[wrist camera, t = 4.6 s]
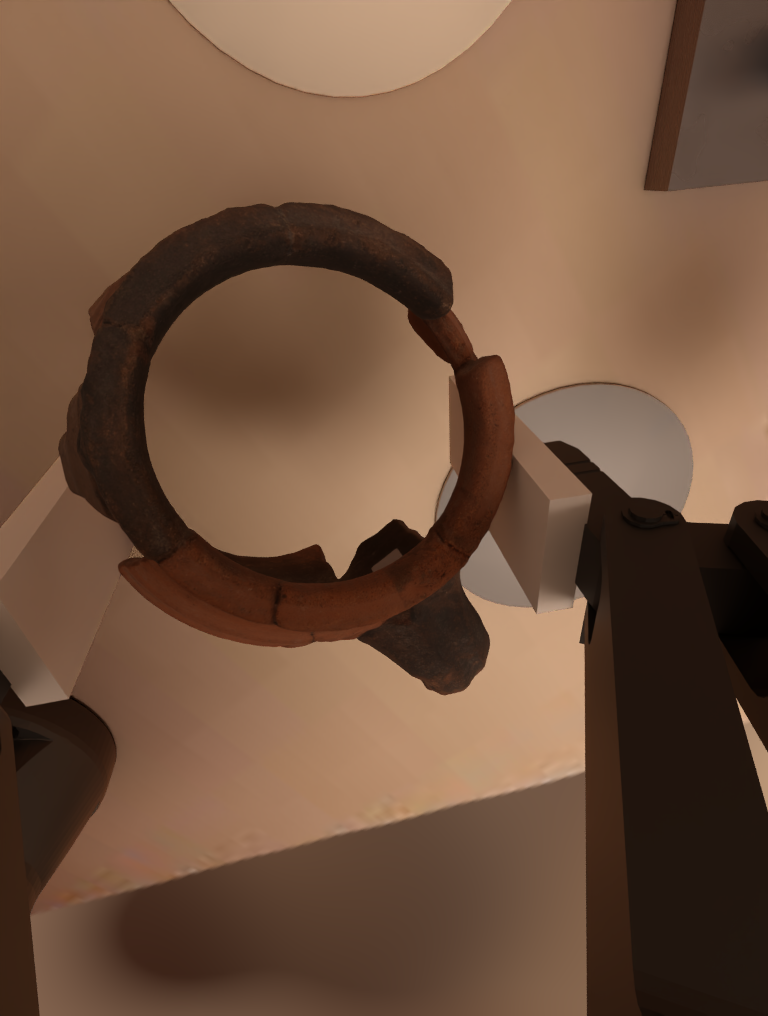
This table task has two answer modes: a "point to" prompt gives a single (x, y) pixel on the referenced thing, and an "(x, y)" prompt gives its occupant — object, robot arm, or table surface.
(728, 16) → the balance
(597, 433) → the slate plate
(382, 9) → the cream plate
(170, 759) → the table surface
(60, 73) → the table surface
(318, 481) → the table surface
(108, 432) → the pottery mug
